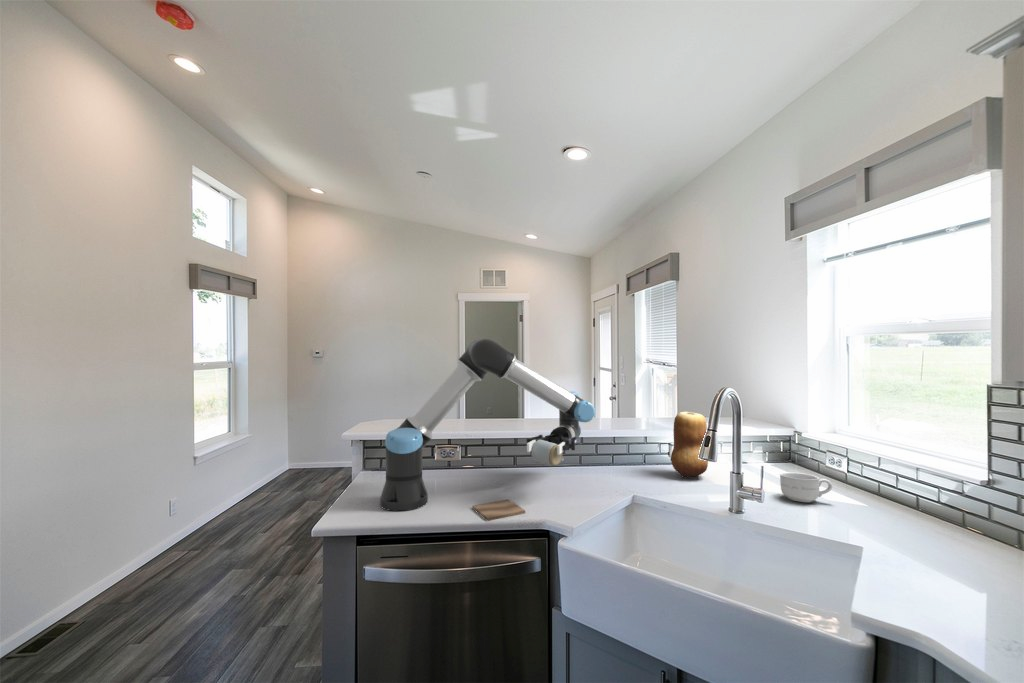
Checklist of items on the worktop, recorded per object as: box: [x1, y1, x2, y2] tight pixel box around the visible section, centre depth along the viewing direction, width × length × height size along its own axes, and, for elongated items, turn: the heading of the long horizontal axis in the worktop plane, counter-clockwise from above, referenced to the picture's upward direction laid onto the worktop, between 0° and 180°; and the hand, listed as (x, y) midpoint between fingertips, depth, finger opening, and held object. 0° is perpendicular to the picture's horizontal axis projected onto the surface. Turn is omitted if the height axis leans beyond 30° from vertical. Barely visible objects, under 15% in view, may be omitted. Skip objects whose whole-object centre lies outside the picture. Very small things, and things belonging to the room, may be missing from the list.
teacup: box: [779, 472, 833, 503], centre depth 139 cm, size 14×11×8 cm
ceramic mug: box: [530, 440, 565, 467], centre depth 143 cm, size 11×8×8 cm
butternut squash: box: [669, 411, 709, 478], centre depth 168 cm, size 14×13×25 cm
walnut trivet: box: [472, 499, 526, 522], centre depth 133 cm, size 12×13×1 cm
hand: (542, 449), depth 137 cm, fingers closed on ceramic mug, 9 cm apart
